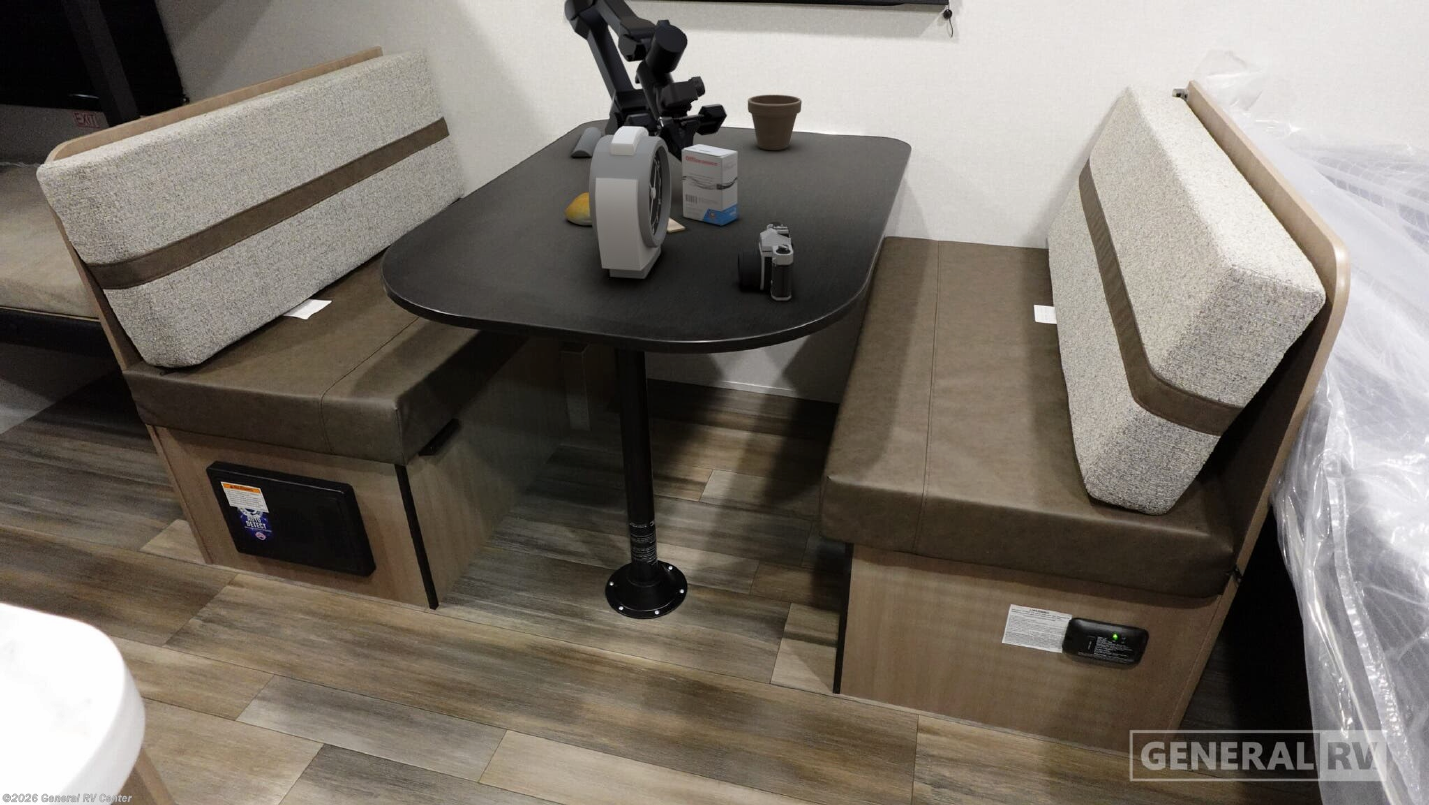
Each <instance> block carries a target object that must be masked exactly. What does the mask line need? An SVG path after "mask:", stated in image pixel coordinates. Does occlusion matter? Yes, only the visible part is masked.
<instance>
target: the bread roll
mask: <svg viewBox="0 0 1429 805" xmlns="http://www.w3.org/2000/svg"><path fill="white" fill-rule="evenodd" d="M565 217H566V219H567V220H568V221H569V222H571V223H573V224H576V225H579V226H580V225H581V226H592V222H591V217H590V209H589V191H588V192H587V191H586V192H584V193H581V194H579V195H578V196H577V197H576V198H575V199H574V200H573V201H572V202H571V203H570V205H568V207H567V208H566V210H565Z"/></svg>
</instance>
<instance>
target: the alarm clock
mask: <svg viewBox="0 0 1429 805" xmlns="http://www.w3.org/2000/svg"><path fill="white" fill-rule="evenodd" d="M588 178H589V179H588V192H589V209H590V217H591V222H592V225H591V226H592V230H593V233H594V236H595V238H596V240H597V241H598V247H599V248H598V249H599V256H600V262H601V268H602V269H607V270H608V269H609V277H611V278H612V277H613V278H628V279H643V280H645V279H646V277H647V276H648V274H649V272H650V271H651V269H652V268H653V266H654V264H655V263H656V261H657V260H658V258H659V256H660V255H661V253H662V248H661V245H662V244H663V242H664V240H665V238H666V235H667V228H668V222H669V218H670V216H671V215H670V214H671V206H672V186H673V185H672V184H673V183H672V182H673V181H672V164H671V157H670V153H669V152H668V148H667V145H666V143H665V141H664V140H663V139H661V138H660V137H650V136H648V131H647V129H645V128H644V127H632V126H622V127H621V128H619V129H618V131H617V132H616V133H615V135H606V136H605V135H604V136H601V137H600V139H599V141H598V143H597V145H596V147H595V150H594V152H593V154H592V157H591V162H590V168H589V176H588Z"/></svg>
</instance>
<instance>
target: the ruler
mask: <svg viewBox="0 0 1429 805" xmlns="http://www.w3.org/2000/svg"><path fill="white" fill-rule="evenodd" d="M685 230H686V227H685V226H683V225H682V224H681V223H679V222H678V221H676V220H674V219H672V218H671V217H669V222H668V228H667V231H666V233H669V234H671V233H676V232H680V231H681V232H682V231H685Z"/></svg>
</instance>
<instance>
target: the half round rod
mask: <svg viewBox="0 0 1429 805" xmlns="http://www.w3.org/2000/svg"><path fill="white" fill-rule="evenodd" d="M601 137H602V132H601V131H600V129H599V128H598V127H595V126H589V127H587V128H585V130H584V131H583V133H582V135H581V137H580V138H579V140H578V142H577V144H576V146H575V148H574V150H573V152H572V153H571V157H576V158H577V157H581V158H583V157H593V153H594V150H595V147H596V145H597V143H598V141H599V140H600V138H601Z"/></svg>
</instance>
